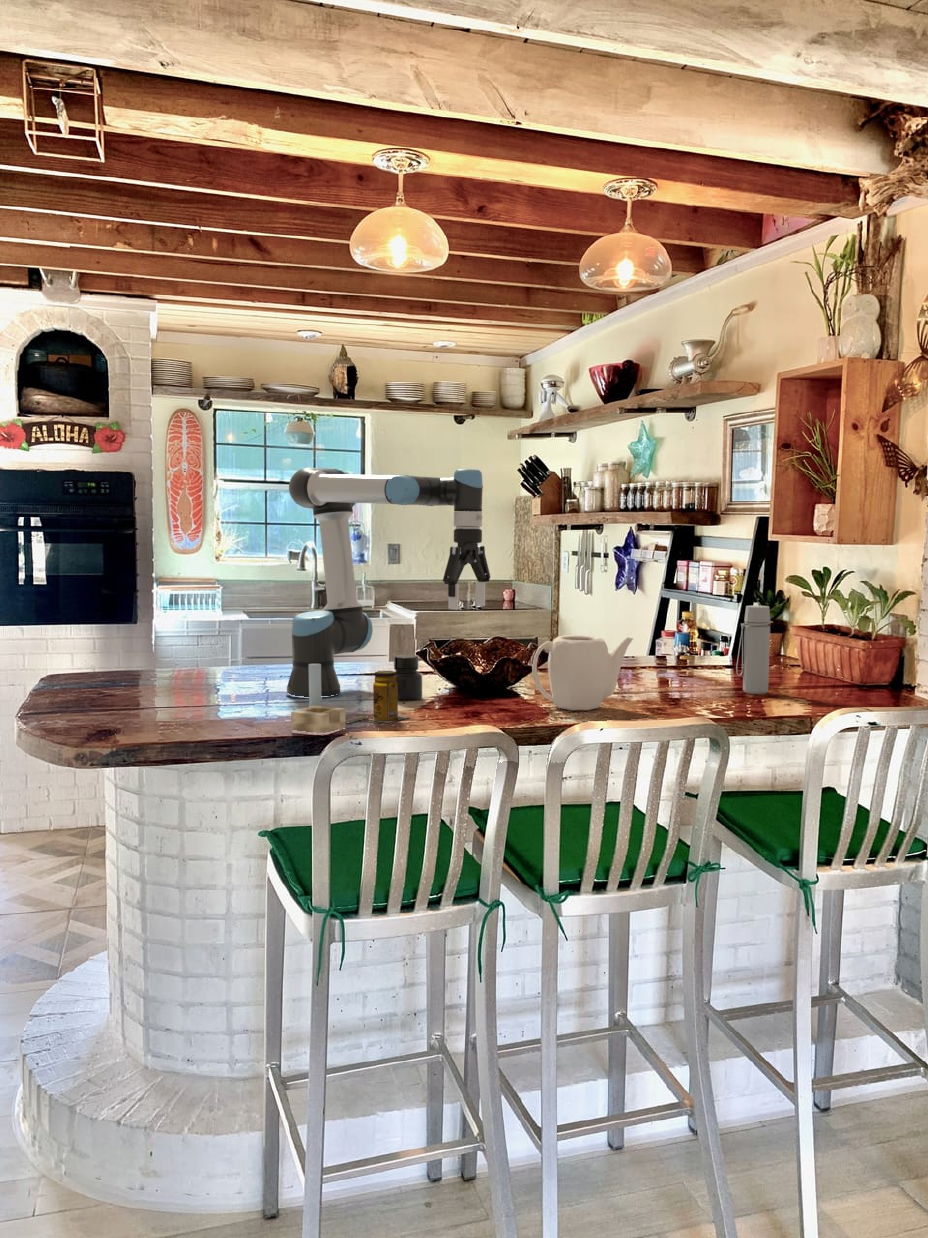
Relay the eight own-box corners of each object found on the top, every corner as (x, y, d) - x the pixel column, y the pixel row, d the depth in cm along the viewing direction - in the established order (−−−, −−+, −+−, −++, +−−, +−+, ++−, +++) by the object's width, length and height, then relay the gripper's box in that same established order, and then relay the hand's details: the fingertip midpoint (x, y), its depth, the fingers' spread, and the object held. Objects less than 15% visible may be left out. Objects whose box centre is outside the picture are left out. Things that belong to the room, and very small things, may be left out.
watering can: (637, 713, 248) (639, 640, 246) (534, 713, 248) (535, 640, 246) (626, 702, 264) (627, 633, 262) (529, 702, 263) (529, 633, 261)
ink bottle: (395, 695, 274) (395, 653, 273) (425, 696, 272) (425, 654, 271) (386, 701, 264) (385, 658, 263) (417, 702, 262) (417, 659, 261)
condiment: (366, 719, 240) (365, 672, 238) (390, 714, 246) (389, 668, 245) (387, 723, 235) (386, 675, 234) (410, 718, 241) (410, 671, 240)
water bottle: (765, 690, 282) (768, 605, 279) (771, 695, 274) (774, 607, 272) (733, 690, 283) (735, 605, 280) (738, 694, 275) (740, 607, 273)
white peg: (307, 721, 238) (306, 664, 236) (314, 718, 240) (313, 663, 239) (317, 722, 236) (316, 665, 235) (324, 720, 239) (323, 664, 238)
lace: (337, 726, 232) (337, 722, 232) (334, 725, 232) (334, 722, 232) (366, 719, 240) (365, 716, 240) (363, 718, 240) (363, 715, 240)
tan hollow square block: (291, 733, 224) (291, 711, 223) (314, 725, 232) (313, 705, 231) (323, 737, 220) (323, 715, 219) (345, 729, 228) (345, 708, 227)
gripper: (454, 528, 244) (453, 611, 246) (503, 528, 265) (502, 604, 267) (429, 527, 248) (429, 610, 250) (480, 527, 269) (479, 603, 271)
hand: (467, 607), depth 259 cm, fingers open, 13 cm apart
